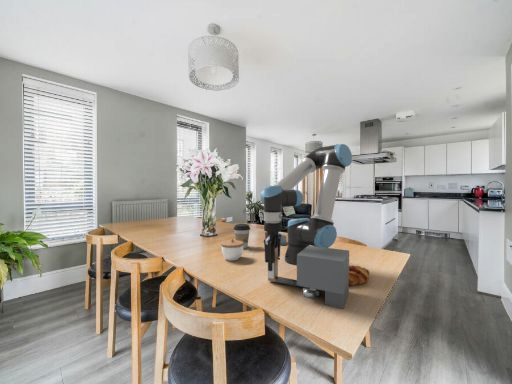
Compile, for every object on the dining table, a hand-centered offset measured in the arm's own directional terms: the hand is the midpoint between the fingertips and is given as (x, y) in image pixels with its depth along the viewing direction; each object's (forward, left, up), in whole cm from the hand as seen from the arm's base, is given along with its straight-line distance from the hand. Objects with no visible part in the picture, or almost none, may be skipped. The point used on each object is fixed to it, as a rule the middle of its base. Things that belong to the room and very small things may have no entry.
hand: (272, 276), depth 100 cm
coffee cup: (-41, +41, -3) cm, 58 cm away
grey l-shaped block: (+22, -2, -2) cm, 22 cm away
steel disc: (+17, -5, -2) cm, 18 cm away
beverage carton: (-28, +66, -3) cm, 72 cm away
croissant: (+31, +18, -3) cm, 36 cm away
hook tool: (+10, -2, -2) cm, 10 cm away
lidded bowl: (-33, +18, -3) cm, 38 cm away
